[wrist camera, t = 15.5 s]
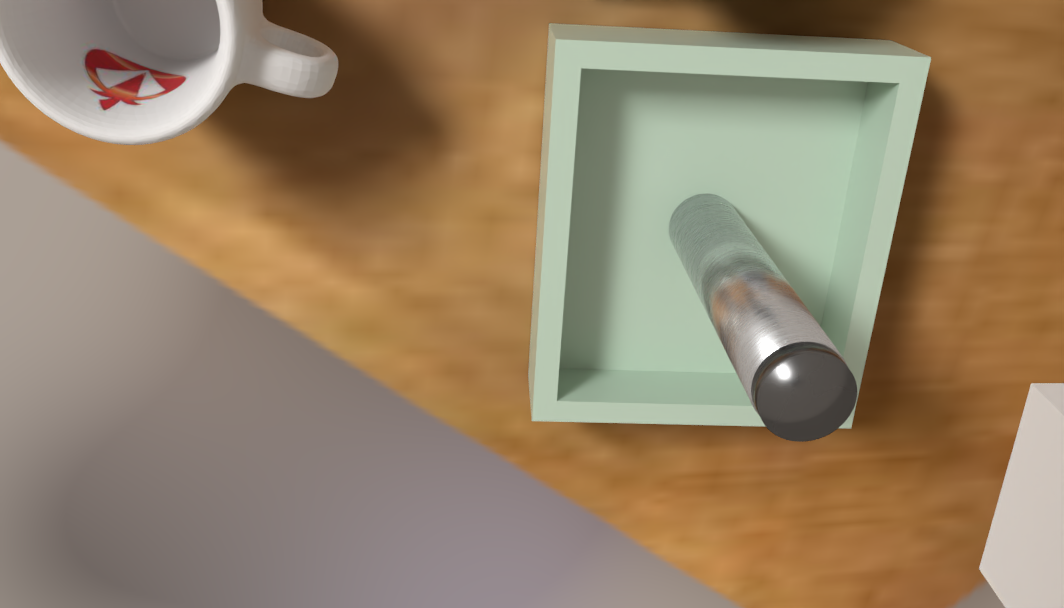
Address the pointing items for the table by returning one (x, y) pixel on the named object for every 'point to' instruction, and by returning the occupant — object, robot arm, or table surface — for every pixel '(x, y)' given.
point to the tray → (698, 168)
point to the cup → (151, 62)
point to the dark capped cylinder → (762, 323)
